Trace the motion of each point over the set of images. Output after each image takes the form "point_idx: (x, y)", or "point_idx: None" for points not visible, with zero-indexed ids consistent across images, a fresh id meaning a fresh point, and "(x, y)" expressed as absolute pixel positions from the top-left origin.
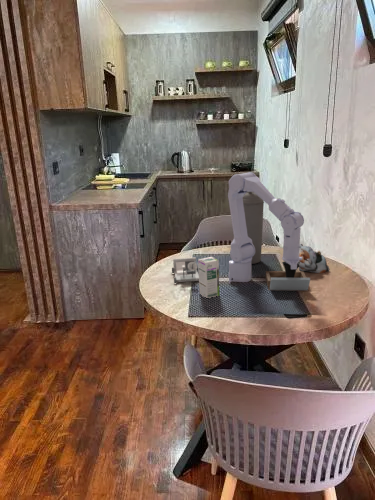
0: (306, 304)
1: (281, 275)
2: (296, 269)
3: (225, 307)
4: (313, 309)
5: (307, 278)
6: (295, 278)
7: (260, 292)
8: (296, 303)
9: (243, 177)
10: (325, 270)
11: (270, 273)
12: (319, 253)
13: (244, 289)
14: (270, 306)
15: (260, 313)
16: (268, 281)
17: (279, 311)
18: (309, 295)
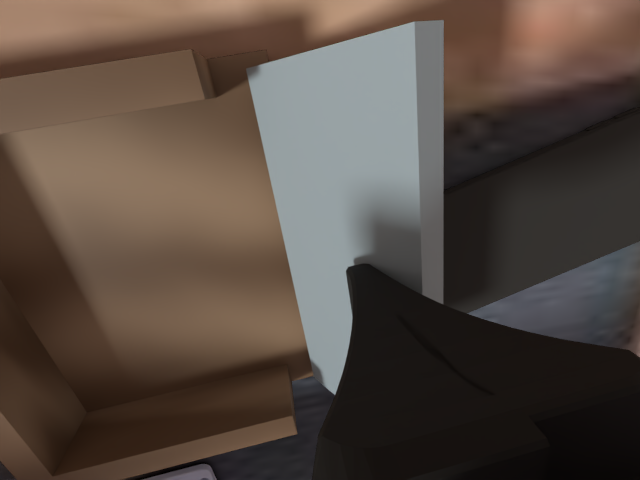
0: (515, 87)
1: (9, 357)
2: (536, 340)
3: None
4: (607, 29)
5: (424, 72)
6: (432, 255)
7: (329, 396)
8: (494, 167)
9: None
10: None
11: (53, 452)
12: None
13: (300, 470)
14: (527, 314)
15: (600, 343)
16: (295, 427)
17: (595, 262)
18: None
